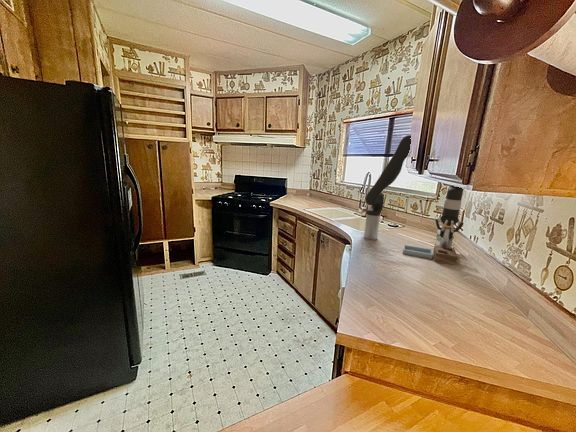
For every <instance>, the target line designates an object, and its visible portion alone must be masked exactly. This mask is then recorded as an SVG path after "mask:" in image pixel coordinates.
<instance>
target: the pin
mask: <svg viewBox="0 0 576 432" xmlns="http://www.w3.org/2000/svg"><path fill="white" fill-rule="evenodd" d="M454 239H455V235H453V236H452V238H451V239H449V241H448V245H447V248H444V249H445V250H451V248H452V246H453V241H454Z"/></svg>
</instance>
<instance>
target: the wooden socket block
mask: <svg viewBox="0 0 576 432" xmlns="http://www.w3.org/2000/svg"><path fill="white" fill-rule="evenodd" d="M432 254H433V259H434V262H437V263H440V264H441V263H442V264H448V265H451V266H457V261H458V255H457V252H456V249H455V247H451V250H445V249H444V248H442V247H440V246H439V245H435V244H434V248H433V250H432Z"/></svg>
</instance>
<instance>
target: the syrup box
mask: <svg viewBox="0 0 576 432" xmlns="http://www.w3.org/2000/svg"><path fill="white" fill-rule="evenodd" d="M439 226H440V227H442V225H439ZM440 231H441V230H439V229H438V228H437V233H436V236H435V237H436V239H435V244H434V246H435V245H439V246H441V241H442V237H441V236H440Z"/></svg>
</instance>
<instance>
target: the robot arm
mask: <svg viewBox="0 0 576 432" xmlns="http://www.w3.org/2000/svg"><path fill="white" fill-rule="evenodd" d="M411 135H412V134H408V135H405V136H404V137H403V138H402V139H401V140H400V141H399V144H398V146H397V148H396V150H395V151H394V153H393V156H392V157H391V158H390V160H389V161H388V162H387V165H386V166H385V167H384V169H383V170H382V172H381V174H380V175H379V176H378V179H377V180H376V182H375V183H374V185H373V186H372V187H371V189H370V190H369V191H368V193H367V194H366V195H365V202H366V204H367V205H368V206H370V207H369V208H368V209H367V210H366V215H365V223H364V232H363V238H365V239H366V240H371V241H372V240H373V241H374V240H377V239H378V236H379V226H380V221H381V220H380V219H381V213H382V211H383V207H384V201H385V197H384V194H383V191H384V190H385V189H386V188H388V187H389V186H390V185H392V184H393V183H394V182H395V181H396V179H397V178H398V176H399V174H400V173H401V171H402V168H403V164H404V162H405V160H406V159H407V157H408V156H409V155H408V153H409V150H410V144H411V139H410V138H411ZM409 154H410V153H409ZM463 193H464V189H462V188H459V187H454V186H450V185H449V188H448V189H447V191H446V197H445V201H444V204H443V208H442V209H443V210H442V214H441V216H440V217H439V218H434V222H435V224H436V228H437V230H438V229H439V230H441V231H440V236H441V237H442V238H443V233H444V228H445V227H446V225H448V226H451V231H450V236H449V239H451V238H452V236H454V233H457V232H458V231H460V229H462V227H463V226H464V222H463V221H461V220H460V219H459V217H460V216H459V215H460V210H461V208H462V207H461V206H462V198H463ZM440 223H442V224H441V225H440ZM456 224H457V226H456V227H455V225H456ZM440 226H442V227H440Z"/></svg>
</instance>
